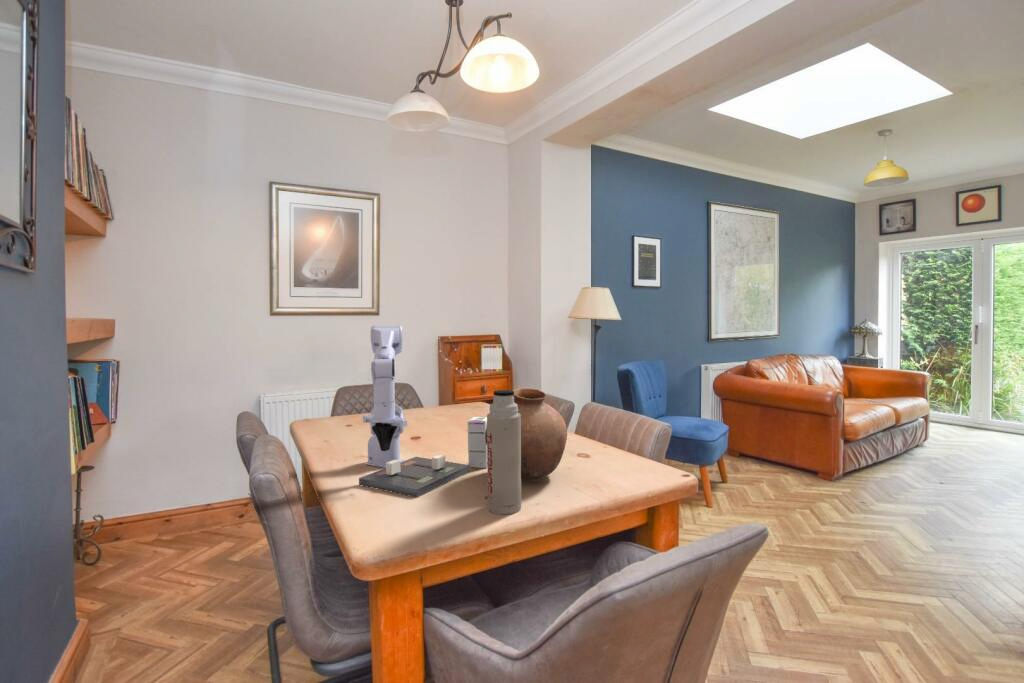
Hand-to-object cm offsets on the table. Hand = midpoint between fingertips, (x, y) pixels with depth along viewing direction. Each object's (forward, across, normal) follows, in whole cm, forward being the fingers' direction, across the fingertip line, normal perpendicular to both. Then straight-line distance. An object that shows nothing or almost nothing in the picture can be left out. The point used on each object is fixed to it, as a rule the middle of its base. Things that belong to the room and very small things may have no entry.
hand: (385, 450), depth 142 cm
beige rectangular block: (+6, +3, 0) cm, 7 cm away
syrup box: (+9, +16, +24) cm, 30 cm away
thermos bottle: (+8, +40, -4) cm, 41 cm away
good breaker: (+6, +11, +10) cm, 16 cm away
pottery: (+8, +34, +20) cm, 40 cm away
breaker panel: (+8, +7, +5) cm, 12 cm away
